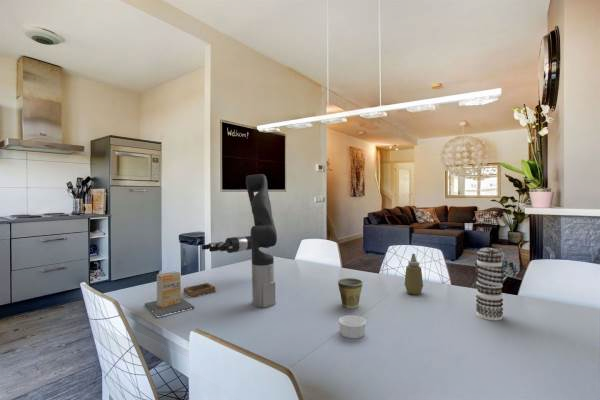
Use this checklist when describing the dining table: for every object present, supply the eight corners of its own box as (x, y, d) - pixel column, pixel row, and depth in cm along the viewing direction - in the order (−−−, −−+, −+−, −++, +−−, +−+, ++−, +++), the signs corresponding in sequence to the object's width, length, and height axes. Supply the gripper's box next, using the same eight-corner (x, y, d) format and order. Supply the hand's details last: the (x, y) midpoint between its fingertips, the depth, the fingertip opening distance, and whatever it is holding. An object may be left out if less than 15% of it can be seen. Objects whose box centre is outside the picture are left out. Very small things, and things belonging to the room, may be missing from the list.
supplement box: (162, 308, 122) (161, 276, 122) (156, 306, 125) (155, 274, 125) (181, 303, 128) (180, 272, 128) (176, 300, 132) (175, 270, 131)
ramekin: (347, 325, 107) (347, 313, 107) (370, 332, 102) (370, 319, 101) (333, 334, 100) (333, 321, 100) (357, 342, 95) (357, 328, 95)
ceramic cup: (362, 310, 120) (362, 285, 119) (337, 309, 122) (337, 284, 121) (362, 299, 132) (362, 276, 132) (339, 298, 134) (339, 275, 134)
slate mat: (194, 308, 125) (194, 306, 125) (157, 318, 115) (157, 315, 115) (178, 297, 138) (178, 295, 138) (144, 305, 129) (144, 303, 129)
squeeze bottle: (420, 290, 143) (420, 252, 143) (425, 295, 135) (425, 255, 135) (402, 289, 144) (402, 252, 144) (406, 295, 136) (406, 255, 136)
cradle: (215, 292, 145) (215, 286, 145) (190, 297, 138) (190, 292, 137) (207, 287, 152) (207, 282, 152) (183, 293, 144) (183, 288, 144)
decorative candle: (490, 322, 108) (490, 252, 107) (469, 312, 116) (469, 247, 116) (510, 319, 110) (510, 250, 109) (488, 309, 119) (488, 246, 118)
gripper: (229, 236, 159) (199, 239, 148) (243, 238, 148) (212, 241, 137) (229, 250, 159) (199, 254, 148) (243, 253, 148) (212, 258, 137)
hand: (205, 248), depth 143 cm, fingers open, 8 cm apart
